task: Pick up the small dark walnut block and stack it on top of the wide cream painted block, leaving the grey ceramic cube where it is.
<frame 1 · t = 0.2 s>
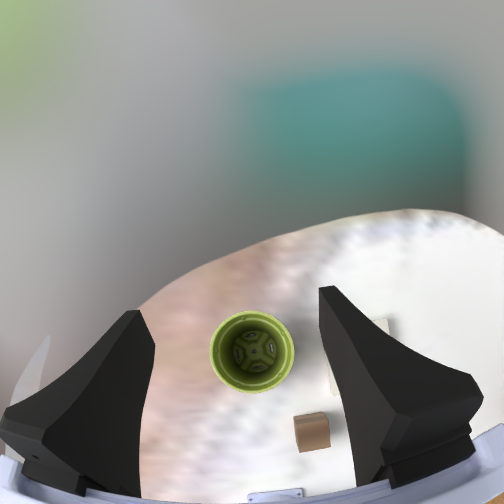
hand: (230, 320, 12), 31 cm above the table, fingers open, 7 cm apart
cream block: (355, 356, 40), on the table
walnut block: (308, 426, 37), on the table
plant pot: (255, 351, 41), on the table
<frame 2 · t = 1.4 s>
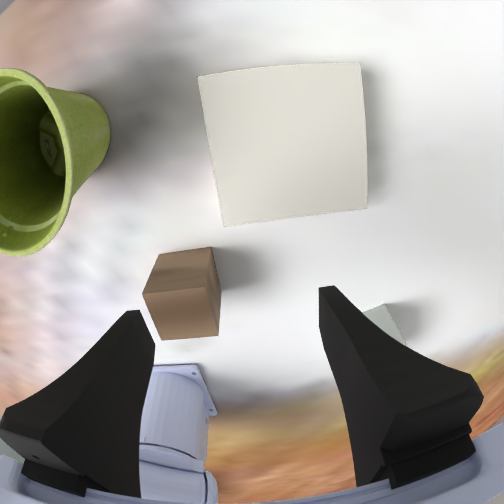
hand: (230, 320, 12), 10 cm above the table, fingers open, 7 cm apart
cream block: (283, 136, 19), on the table
walnut block: (190, 273, 23), on the table
grey cube: (363, 331, 27), on the table
plant pot: (76, 134, 18), on the table
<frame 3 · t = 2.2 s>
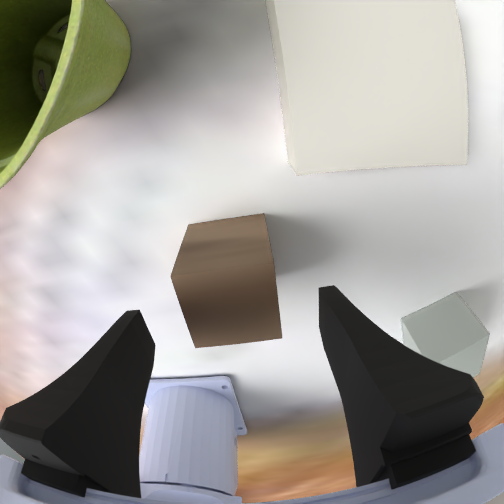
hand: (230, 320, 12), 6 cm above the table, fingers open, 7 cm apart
cream block: (363, 70, 13), on the table
walnut block: (232, 252, 17), on the table
grey cube: (429, 326, 21), on the table
plant pot: (81, 60, 11), on the table
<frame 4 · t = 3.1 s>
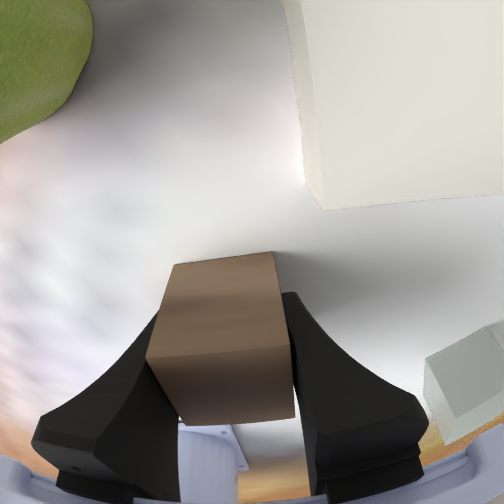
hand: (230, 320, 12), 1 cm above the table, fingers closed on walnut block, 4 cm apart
cream block: (404, 64, 9), on the table
walnut block: (230, 298, 13), on the table, touching gripper
grey cube: (453, 362, 17), on the table
plant pot: (35, 53, 8), on the table
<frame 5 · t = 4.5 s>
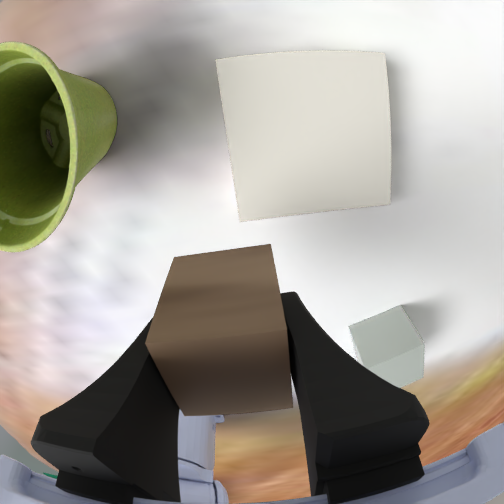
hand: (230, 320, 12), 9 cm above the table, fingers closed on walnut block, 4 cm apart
cream block: (302, 127, 18), on the table
walnut block: (229, 290, 13), point 7 cm above the table, touching gripper
grey cube: (378, 333, 26), on the table
plant pot: (79, 123, 16), on the table
when the fingers open (6 cm above the table, at t = 6.0 s): walnut block drops 1 cm, resting on cream block.
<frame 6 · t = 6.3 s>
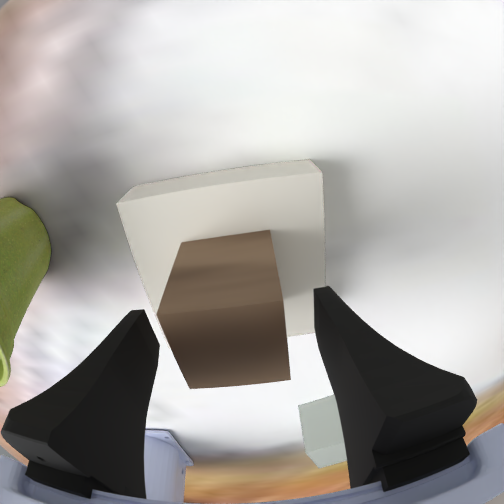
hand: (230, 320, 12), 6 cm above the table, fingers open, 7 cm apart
cream block: (232, 246, 17), on the table, touching walnut block
walnut block: (232, 273, 15), point 2 cm above the table, touching cream block
grey cube: (330, 408, 25), on the table
plant pot: (20, 237, 16), on the table
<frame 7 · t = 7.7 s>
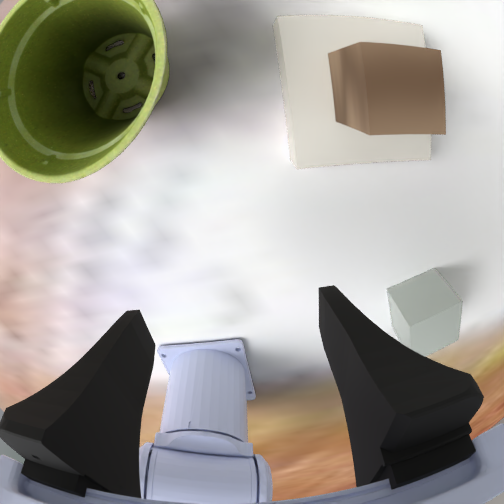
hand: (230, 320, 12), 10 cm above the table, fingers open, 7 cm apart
cream block: (348, 88, 17), on the table, touching walnut block
walnut block: (365, 86, 15), point 2 cm above the table, touching cream block
grey cube: (412, 297, 25), on the table
plant pot: (126, 75, 16), on the table
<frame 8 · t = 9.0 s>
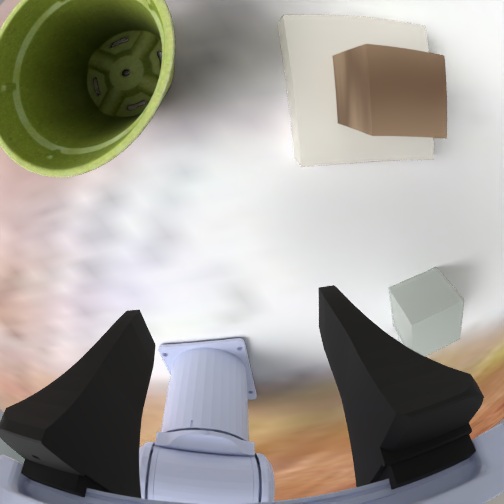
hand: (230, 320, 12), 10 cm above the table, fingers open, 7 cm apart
cream block: (352, 87, 17), on the table, touching walnut block
walnut block: (368, 89, 15), point 2 cm above the table, touching cream block
grey cube: (414, 297, 25), on the table
plant pot: (131, 72, 16), on the table
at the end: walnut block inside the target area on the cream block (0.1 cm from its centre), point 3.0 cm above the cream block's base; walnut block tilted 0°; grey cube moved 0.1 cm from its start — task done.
